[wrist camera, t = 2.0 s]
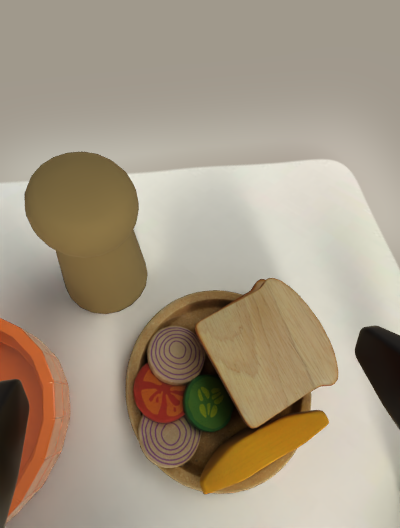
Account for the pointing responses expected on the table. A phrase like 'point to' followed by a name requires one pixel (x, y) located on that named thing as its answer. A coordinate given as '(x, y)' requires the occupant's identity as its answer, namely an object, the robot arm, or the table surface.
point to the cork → (89, 228)
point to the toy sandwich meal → (228, 385)
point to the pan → (35, 407)
